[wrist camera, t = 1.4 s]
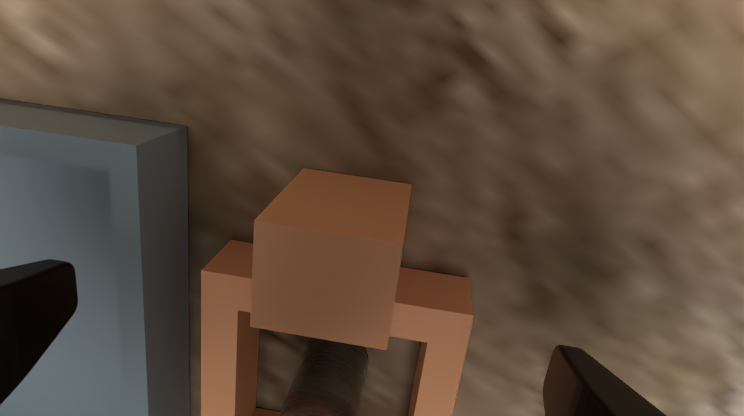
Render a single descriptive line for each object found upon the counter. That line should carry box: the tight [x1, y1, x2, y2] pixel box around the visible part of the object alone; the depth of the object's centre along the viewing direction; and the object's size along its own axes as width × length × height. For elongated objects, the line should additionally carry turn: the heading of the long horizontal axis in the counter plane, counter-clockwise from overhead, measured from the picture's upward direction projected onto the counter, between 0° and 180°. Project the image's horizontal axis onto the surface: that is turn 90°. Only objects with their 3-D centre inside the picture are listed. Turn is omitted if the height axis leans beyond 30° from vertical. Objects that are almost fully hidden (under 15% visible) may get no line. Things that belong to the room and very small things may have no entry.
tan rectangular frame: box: [201, 168, 474, 416], centre depth 13 cm, size 10×7×4 cm
